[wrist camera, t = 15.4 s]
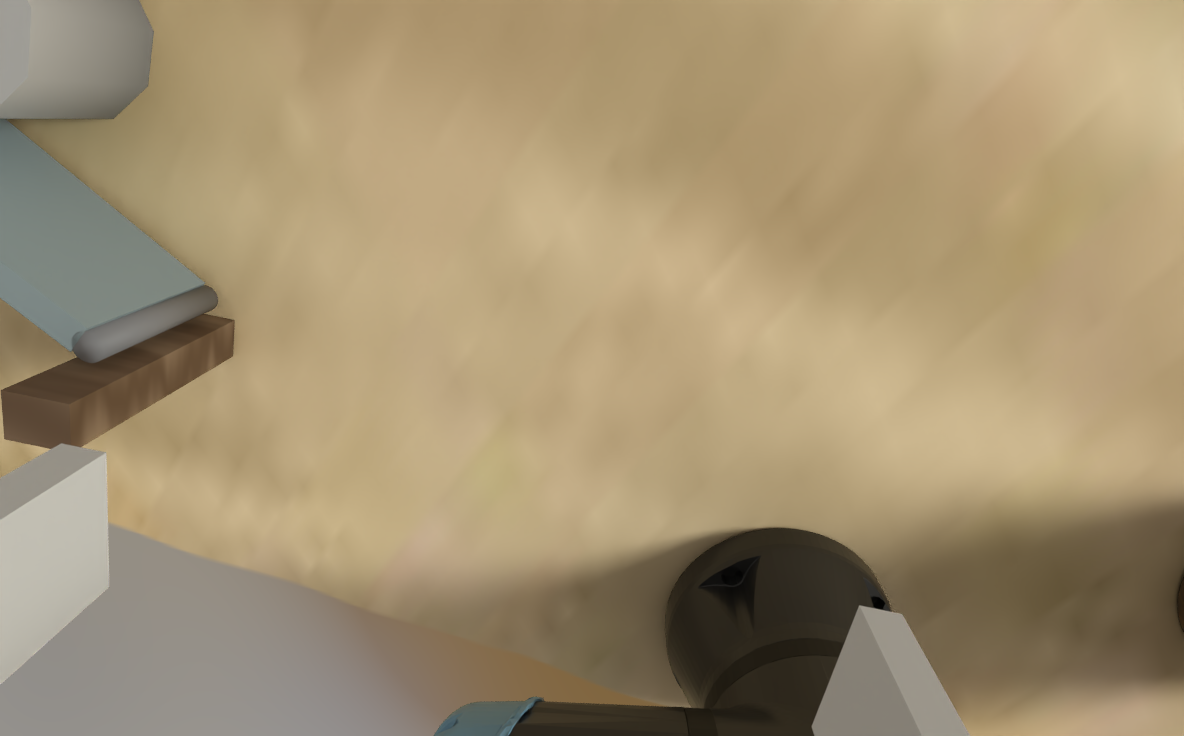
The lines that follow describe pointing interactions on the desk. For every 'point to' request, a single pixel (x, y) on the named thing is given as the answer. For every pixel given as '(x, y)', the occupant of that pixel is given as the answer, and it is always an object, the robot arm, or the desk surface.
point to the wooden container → (1181, 604)
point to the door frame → (112, 385)
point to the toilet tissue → (72, 57)
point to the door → (83, 260)
